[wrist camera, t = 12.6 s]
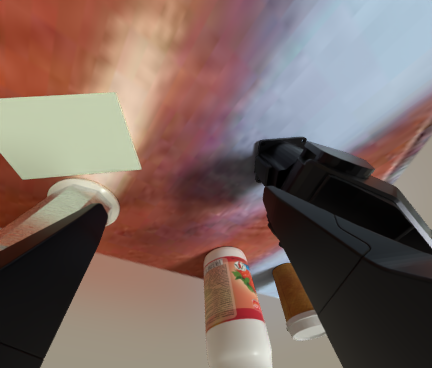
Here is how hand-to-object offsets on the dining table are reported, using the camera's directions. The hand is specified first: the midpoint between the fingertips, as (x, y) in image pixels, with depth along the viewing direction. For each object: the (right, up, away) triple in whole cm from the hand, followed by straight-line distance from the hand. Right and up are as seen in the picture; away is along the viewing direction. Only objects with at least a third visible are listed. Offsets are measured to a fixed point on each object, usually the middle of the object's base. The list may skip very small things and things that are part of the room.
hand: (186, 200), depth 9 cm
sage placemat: (-16, +6, +10) cm, 20 cm away
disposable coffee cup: (+19, -21, +31) cm, 42 cm away
